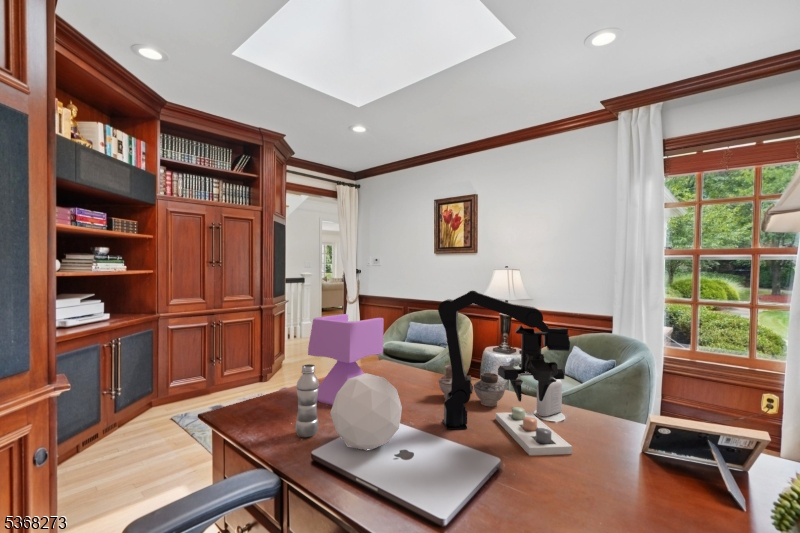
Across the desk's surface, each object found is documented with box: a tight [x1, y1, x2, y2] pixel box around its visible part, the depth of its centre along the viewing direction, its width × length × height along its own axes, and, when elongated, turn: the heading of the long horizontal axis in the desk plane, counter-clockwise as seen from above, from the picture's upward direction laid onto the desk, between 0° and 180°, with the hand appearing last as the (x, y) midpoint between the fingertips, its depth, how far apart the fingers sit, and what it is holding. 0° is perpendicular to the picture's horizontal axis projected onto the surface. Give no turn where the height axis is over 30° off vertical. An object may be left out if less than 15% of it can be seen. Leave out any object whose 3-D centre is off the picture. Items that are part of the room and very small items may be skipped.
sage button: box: [511, 406, 526, 421], centre depth 117 cm, size 4×4×3 cm
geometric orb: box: [329, 372, 403, 451], centre depth 100 cm, size 19×20×20 cm
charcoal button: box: [536, 428, 551, 445], centre depth 101 cm, size 4×4×3 cm
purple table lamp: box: [307, 313, 385, 406], centre depth 137 cm, size 20×20×30 cm
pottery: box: [437, 364, 506, 407], centre depth 137 cm, size 11×25×12 cm, turn 67°
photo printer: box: [536, 379, 563, 417], centre depth 126 cm, size 10×4×12 cm, turn 123°
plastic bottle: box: [294, 363, 320, 438], centre depth 105 cm, size 6×7×20 cm
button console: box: [495, 411, 573, 456], centre depth 109 cm, size 12×24×2 cm, turn 7°
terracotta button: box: [523, 417, 537, 432], centre depth 109 cm, size 4×4×3 cm
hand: (530, 401), depth 109 cm, fingers open, 6 cm apart
